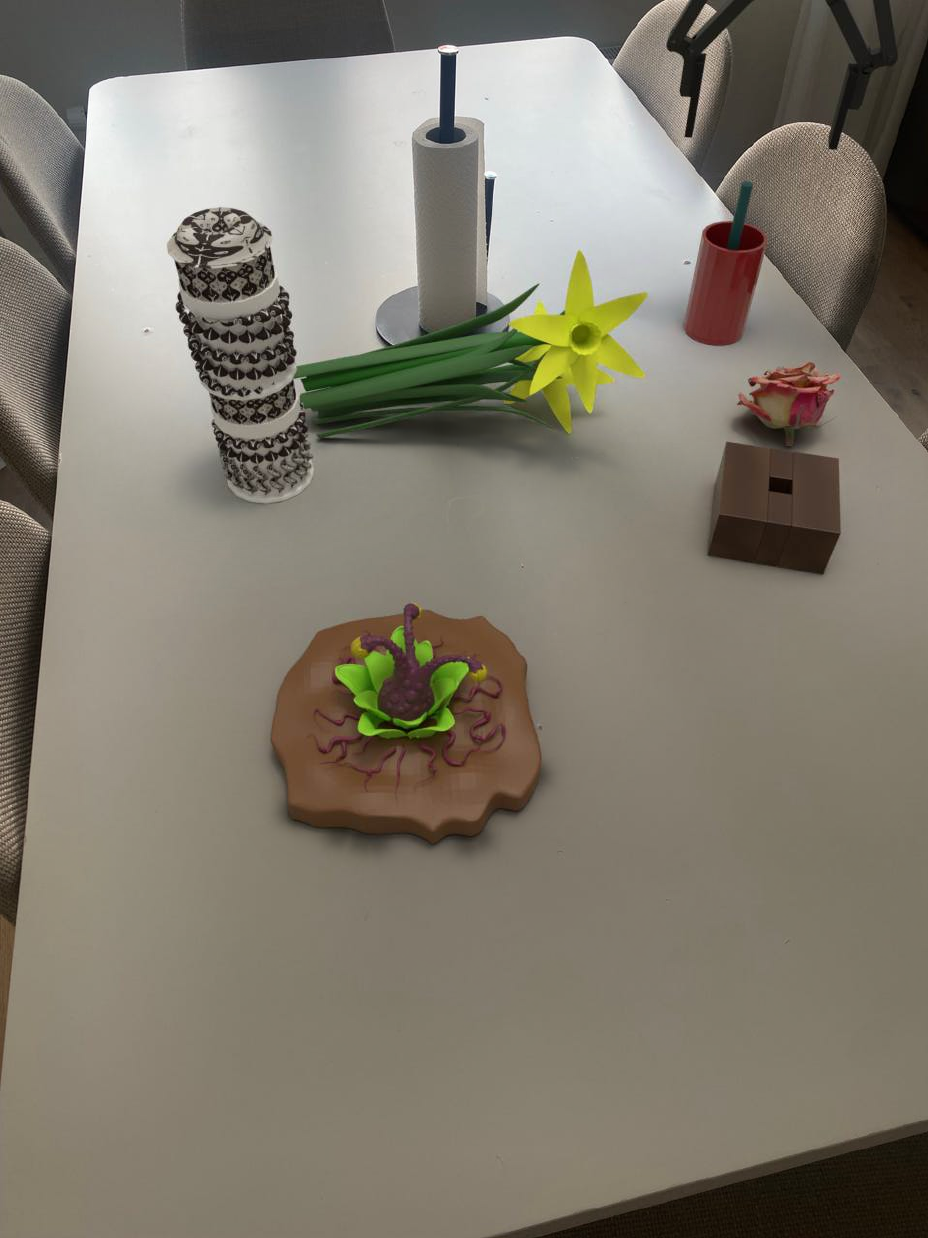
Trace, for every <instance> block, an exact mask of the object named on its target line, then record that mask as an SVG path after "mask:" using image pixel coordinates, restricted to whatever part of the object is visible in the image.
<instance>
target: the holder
mask: <svg viewBox="0 0 928 1238" xmlns="http://www.w3.org/2000/svg"><path fill="white" fill-rule="evenodd" d="M840 488H841V487H840V459H839V458H838V457H833V456H827V455H826V456H825V455H819V454H812V453H806V452H798V451H792V450H786V449H778V448H771V447H765V446H758V445H752V444H745V443H739V442H732V441H726V442H725V445H724V448H723V451H722V456H721V459H720V464H719V467H718V471H717V474H716V478H715V481H714V491H713V500H712V509H711V518H710V529H709V537H708V547H707V548H708V549H707V556H711V557H718V558H723V559H730V560H735V561H741V562H747V563H755V564H760V565H766V566H772V567H777V568H784V569H789V570H796V571H800V572H801V571H802V572H808V573H814V574H820V575H824V574H825V571H826V568H827V567H828V565H829V563H830V559H831V558H832V555H833V553H834V550H835V548H836V546H837V543H838V542H839V539H840V536H841V535H842V531H841V530H842V527H841V492H840V491H841V490H840Z"/></svg>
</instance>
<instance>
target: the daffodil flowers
mask: <svg viewBox="0 0 928 1238" xmlns="http://www.w3.org/2000/svg"><path fill="white" fill-rule="evenodd" d="M539 285H540V283H536V284H535V285H533V286H531V287H530V288H529V289H527V290H526V291H524V292H523V293H522V294H520V295H519V296H517V297H516V298H514V299H513V300H511V301H509V302H507V303H505V304H503V305H502V306H499V307H498V308H496V309H494V310H491V311H489V312H487V313H484V314H482V315H479V316H476V317H473V318H470V319H468V320H466V321H463V322H460V323H457V324H455V325H452V326H449V327H446V328H443V329H439V330H437V331H434V332H430V333H426V334H425V335H421V336H418V337H415V338H411V339H409V340H406V341H403V342H400V343H396V344H392V345H389V346H385V347H382V348H378V349H375V350H371V351H368V352H364V353H360V354H355V355H349V356H343V357H338V358H333V359H332V358H331V359H327V360H322V361H316V362H311V363H307V364H301V365H296V367H297V371H296V373H295V375H294V377H293V379H294V380H295V379H300V382H301V384H302V387H303V389H304V391H305V392H302V393H300V395H299V402H300V403H302V405H303V410H308V409H310V410H311V411H312V412H316V413H317V418H315V419H312V420H311V423H312V424H313V425H320V424H327V423H332V422H333V423H334V422H339V421H346V420H352V419H359V418H366V417H368V418H369V417H379V416H386V415H387V416H388V417H385V418H380V419H376V420H372V421H368V422H363V423H360V424H355V425H350V426H346V427H341V428H337V429H332V430H327V431H322V432H318V433H316V434H315V435H316V438H318V439H323V438H327V437H332V436H337V435H343V434H346V433H350V432H351V433H352V432H355V431H359V430H365V429H369V428H374V427H377V426H381V425H385V424H389V423H392V422H397V421H400V420H401V421H402V420H405V419H409V418H413V417H417V416H422V415H425V414H430V413H433V412H457V411H459V412H460V411H479V412H505V413H511V414H514V415H517V416H522V417H525V418H528V419H529V420H532V421H535V422H536V423H539V424H540V425H543V426H545V427H546V428H550V429H552V430H554V431H556V428H554V427H552V426H551V425H549V424H548V423H546V422H544V421H543V420H541V419H540V418H538V417H536V416H534V415H532V414H530V413H528V412H526V411H524V410H520V409H515V408H512V407H510V406H509V407H508V406H497V405H496V406H495V405H494V406H493V405H468V404H473V403H476V402H479V401H482V400H483V401H485V400H487V401H489V400H491V401H504V402H503V404H505V405H511V404H514V403H528V400H526V399H527V398H529V397H531V396H532V395H534V394H536V393H537V392H539V391H541V392H542V394H543V396H544V398H545V400H546V401H547V403H548V406H549V408H550V409H551V411H552V412H553V414H554V415H555V417H556V419H557V420H558V421H559V423H560V425H561V426H562V427H563V429H564V430H565V432H566V433H567V434H568V435H571V433H572V430H573V429H572V428H573V425H572V415H571V403H570V396H569V392H568V386H574V387H575V389H576V391H577V393H578V395H579V398H580V400H581V402H582V405H583V406H584V408H585V410H586V411H587V413H589V414H592V412H593V409H594V403H595V398H596V391H597V386H598V385H605V384H612V383H615V382H616V381H615V379H614V378H613V377H612V376H611V375H609V374H608V373H606V372H605V371H603V370H601V369H599V368H598V364H599V365H602V366H603V367H605V368H608V369H609V370H612V371H614V372H617V373H621V374H623V375H627V376H630V377H634V378H637V379H644V378H646V374H645V372H644V371H643V370H642V368H641V367H640V366H639V365H638V363H637V362H636V360H635V359H634V358H633V357H632V356H631V355H630V354H629V353H628V351H626V349H624V348H623V347H622V346H621V344H619V342H617V341H616V340H615V339H614V337H613V336H612V335H610V334H609V333H611V332H612V331H613V330H614V329H616V328H618V327H619V326H620V325H621V324H623V323H624V322H626V321H627V320H628V319H629V318H630V317H631V316H632V315H633V314H634V313H635V312H636V311H637V310H638V309H639V308H640V306H642V304H643V303H644V302H645V301H646V299H647V298H648V295H649V292H645V291H644V292H638V293H634V294H630V295H625V296H622V297H618V298H614V299H612V300H609V301H606V302H603V303H600V304H598V305H595V299H594V292H593V283H592V277H591V275H590V271H589V268H588V264H587V261H586V257H585V255H584V253H583V252H582V250H581V249H578V250H577V252H576V254H575V257H574V262H573V265H572V269H571V273H570V276H569V281H568V287H567V293H566V297H565V304H564V310H563V311H562V312H560V313H559V314H548V312H547V310H546V307H545V306H544V303H543V301H542V300H540V299H539V300H538V302H537V304H536V306H535V310H534V313H533V314H532V315H527V316H522V317H519V318H515V319H514V320H513V319H512V320H511V321H509V322H508V325H507V326H506V327H504V328H503V330H501V331H496V332H487V333H485V332H484V333H479V334H472V335H466V334H468V333H471V332H474V331H476V330H479V329H481V328H485V327H487V326H489V325H492V324H495V323H497V322H499V321H501V320H502V319H504V318H505V317H507V316H509V315H510V314H512V313H514V311H516V310H517V309H518V308H519V307H520V306H521V305H523V303H525V301H527V300H528V299H529V297H531V295H532V294H533V293H534V292H535V291H536V289H537V288H538V287H539ZM509 327H511V328H512V329H511V330H509V331H507V330H508V328H509ZM463 335H466V336H463ZM505 364H507V365H505ZM497 383H498V384H499V383H500V384H501V383H504V384H501V385H499V386H498V387H495V388H492V387H490V386H485V385H489V384H497ZM512 386H513V387H512ZM511 387H512V389H511V390H510V392H509V393H506V392H504V391H506V390H508V389H509V388H511ZM436 403H441V404H436ZM425 404H436V405H432V406H422V407H421V406H420V407H404V406H414V405H425ZM394 407H395V408H394ZM397 407H402V408H397ZM388 408H393V409H388ZM381 409H383V410H381ZM389 415H391V416H389Z"/></svg>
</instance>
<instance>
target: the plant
mask: <svg viewBox="0 0 928 1238" xmlns="http://www.w3.org/2000/svg"><path fill="white" fill-rule="evenodd" d="M527 674H528V663H527V659H526V658H525V656H523V655H522V654H521V653H520V652H519V651H518V648H517V647H516V646H515V644H514V642H513V641H512V639H511V637H509V636H508V635H507V634H505V633H504V632H503V631H501V630H499V629H498V628H496V627H495V626H494V625H493V624H491V622H490V621H488V620H487V618H486V617H485V616H484V615H477V616H473V617H470V618H460V619H459V618H453V617H449V616H444V615H442V614H439V613H437V612H435V611H433V610H430V609H422V608H421V606H420V605H419V604H418V603H415V602H408V603H407V604H405V605H404V608H403V613H397V614H391V615H384V616H375V617H369V618H361V619H355V620H350V621H347V622H343V623H340V624H336V625H333V626H331V627H326V628H323V629H320V630H318V631H317V632H316V633H315V635H314V637H313V638H312V640H311V641H310V642H309V644H308V645H307V648H306V649H305V650H304V652H303V653H302V655H300V657H299V659H298V660H296V662H295V663H294V664H293V665H292V666H291V667H290V668H289V670H288V671H287V672H286V675H285V676H284V678H283V681H282V682H281V684H280V687H279V689H278V692H277V695H276V700H275V701H276V702H275V708H274V714H273V719H272V724H271V729H270V745H271V747H272V750H273V753H274V755H275V757H276V759H277V760H278V762H279V763H280V764H281V766H282V767H283V769H284V772H285V779H286V786H287V807H288V810H289V811H288V812H289V814H290V818H291V819H292V820H295V821H299V822H302V823H305V824H308V825H310V826H312V827H315V828H319V829H320V828H321V829H327V828H347V829H351V830H355V831H358V832H361V833H364V834H372V835H383V834H387V835H388V834H389V835H390V834H391V835H392V834H404V833H405V834H406V833H407V834H413V835H416V836H418V837H421V838H423V839H425V840H426V841H428V842H429V843H430V844H432V845H435V844H436V843H437V842H439V841H440V840H441V839H443V838H444V837H445V836H449V835H462V836H467V837H473V836H476V835H478V834H480V833H481V831H482V830H483V828H484V827H485V825H486V824H487V821H488V820H489V818H490V815H492V813H493V812H494V811H495V810H498V809H505V810H509V811H514V812H519V811H521V810H522V809H523V808H524V806H526V804H527V803H528V801H529V800H530V799H531V798H532V795H533V793H534V792H535V790H536V788H537V785H538V783H539V780H540V775H541V767H542V749H541V743H540V740H539V736H538V733H537V730H536V727H535V724H534V721H533V719H532V713H531V711H530V705H529V698H528V692H527V686H526V680H527Z"/></svg>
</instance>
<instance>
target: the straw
mask: <svg viewBox="0 0 928 1238" xmlns="http://www.w3.org/2000/svg"><path fill="white" fill-rule="evenodd" d="M753 187H754V183H753V182H752V181H748V180H747V181H742V182H741V184H740V187H739V191H738V197H737V201H736V206H735V209H734V214H733V219H732V221H733V222H732V227H731V231H730V236H729V240H728V245H727V249H728V250H736V251H738V248H739V244H740V239H741V235H742V231H743V226H744V223H746V217H747V214H748V210H749V206H750V205H749V204H750V201H751V197H752V193H753Z"/></svg>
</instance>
